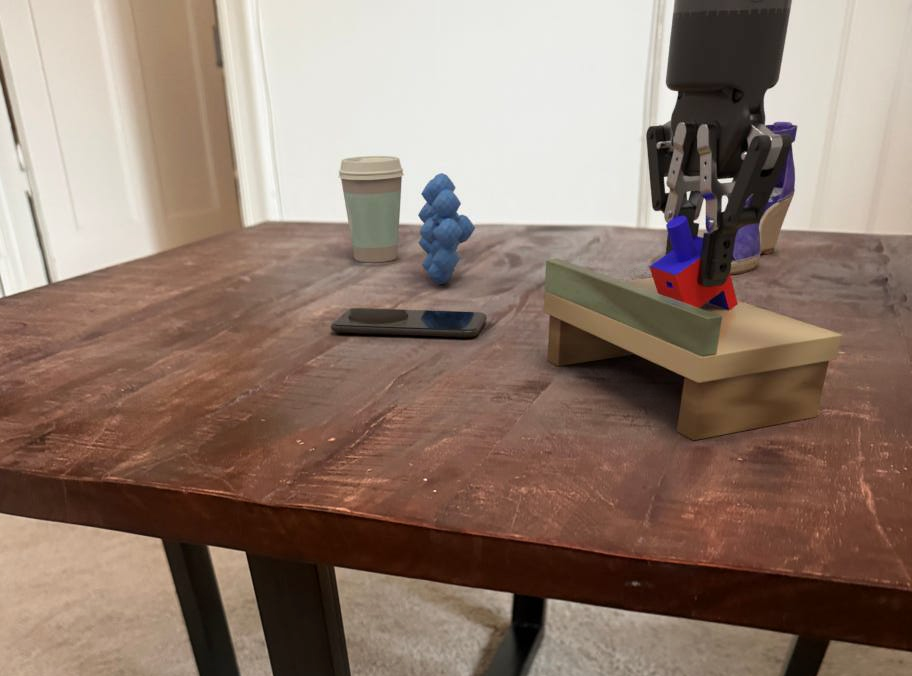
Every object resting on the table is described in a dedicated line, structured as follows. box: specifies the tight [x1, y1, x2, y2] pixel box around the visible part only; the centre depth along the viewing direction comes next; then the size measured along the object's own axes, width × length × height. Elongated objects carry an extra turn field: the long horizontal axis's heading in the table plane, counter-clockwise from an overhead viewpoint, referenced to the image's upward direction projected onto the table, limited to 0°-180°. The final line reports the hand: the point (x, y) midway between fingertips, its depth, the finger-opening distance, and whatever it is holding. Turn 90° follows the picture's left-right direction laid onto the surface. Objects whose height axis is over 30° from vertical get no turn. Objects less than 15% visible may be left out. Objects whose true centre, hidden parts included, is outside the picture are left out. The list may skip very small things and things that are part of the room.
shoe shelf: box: [543, 258, 843, 441], centre depth 69 cm, size 12×22×8 cm, turn 22°
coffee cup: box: [338, 155, 405, 264], centre depth 116 cm, size 9×9×12 cm
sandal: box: [730, 121, 798, 276], centre depth 107 cm, size 8×20×15 cm, turn 133°
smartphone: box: [330, 307, 488, 338], centre depth 88 cm, size 7×1×15 cm
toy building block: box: [648, 216, 738, 310], centre depth 67 cm, size 4×4×8 cm
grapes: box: [417, 172, 476, 285], centre depth 102 cm, size 12×7×12 cm, turn 13°
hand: (694, 278), depth 67 cm, fingers closed on toy building block, 3 cm apart
